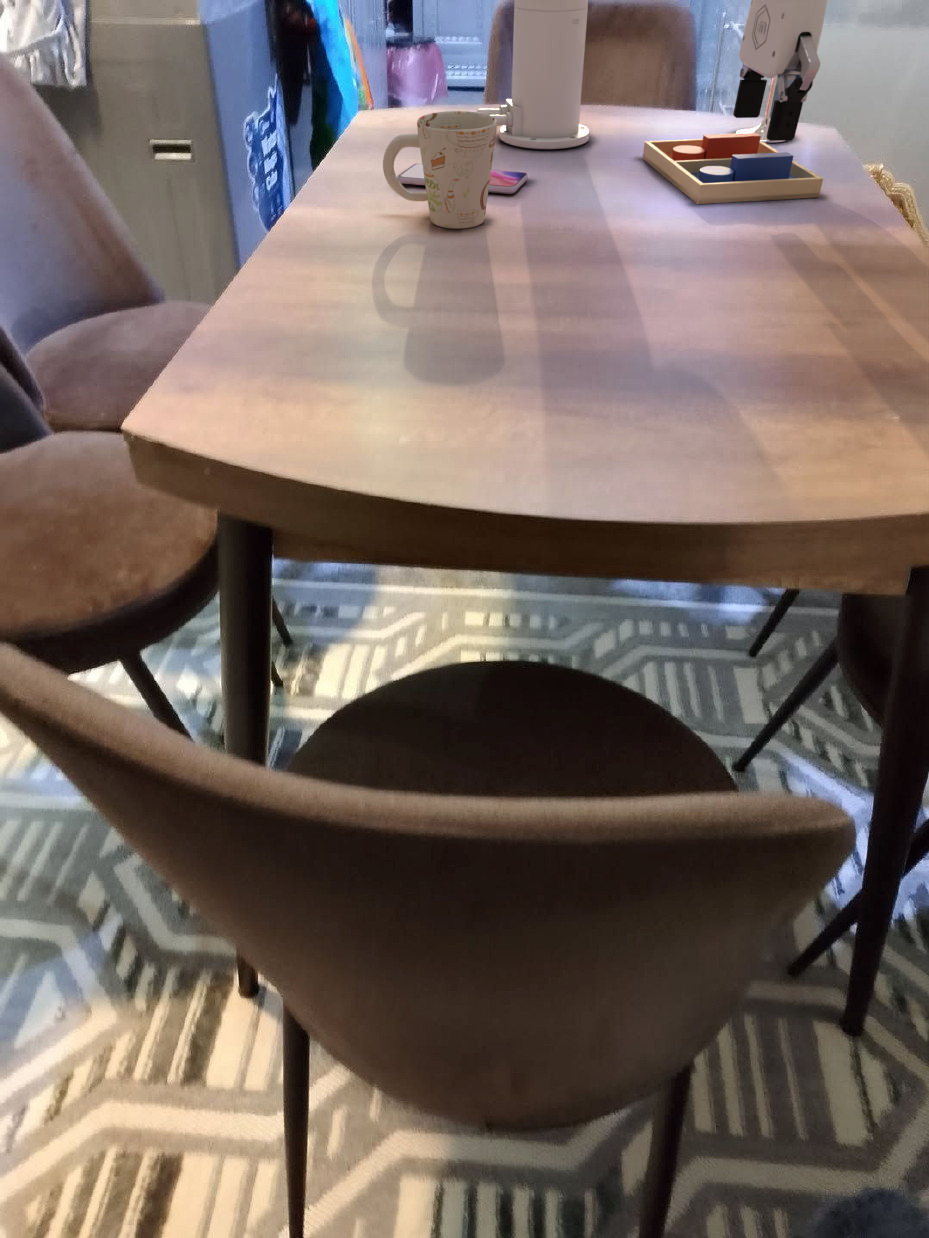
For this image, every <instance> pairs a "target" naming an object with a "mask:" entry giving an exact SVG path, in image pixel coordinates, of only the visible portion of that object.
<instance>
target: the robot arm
mask: <svg viewBox="0 0 929 1238" xmlns="http://www.w3.org/2000/svg"><path fill="white" fill-rule="evenodd" d="M827 6H828V0H751V1H750V7H749V8H748V9H749V10H748V13H747V16H746V21H745V25H744V30H743V35H742V39H741V44H740V47H739V53H738V56H739V60H740V62H741V63H742V67H741V68H740V70H739V79H740V80H739V84H738V89H737V93H736V99H735V104H734V109H733V113H732V114H733V117H734V118H736V119H755V118H758V117H759V116H760V114H761V109H762V106H763V102H764V96H765V92H766V87H767V83H768V80H767V79H771V78H773V77H775V76H776V75H777V78H778V79H777V91H778V99H774V100H773V101H774V102H773V106H772V109H771V110H772V111H771V113H770V123H769V128H768V132H767V139H768V140H770V141H784V142H786V141H787V142H788V141H793V140H794V139H795V138H796V132H797V130H798V125H799V121H800V116H801V113H802V108H803V105H804V103H805V102H806V100H807V98H808V94H809V92H810V91H811V89H812V87H813V83H814V80H815V78H816V76H817V74H818V72H819V70H820V67H821V60H820V58H819V55H818V48H819V44H820V41H821V36H822V30H823V28H824V27H823V26H824V22H825V17H826V16H825V15H826V13H827V12H826V11H827ZM513 8H514V9H513V34H512V35H513V41H512V72H511V73H512V74H511V98H506V99H505V105H504V104H503V105H499V108H490V107H488V108H477V110H476V112H478V113H483V114H487V115H490V116H492V117H494V118H495V119H496V121H497V127H500V128H499V139H500V141H502V142H503V143H505V144H508V145H511V146H514V147H519V148H524V149H532V150H533V149H534V150H561V149H570V148H574V147H579V146H582V145H584V144H586V143H587V142H589V140H590V132H591V131H590V129H589V128H588V126H586V125H583V124H581V123H580V117H581V103H582V91H583V90H582V89H583V78H584V77H583V76H584V63H585V50H586V49H585V48H586V37H587V24H588V23H587V22H588V12H589V11H588V9H589V0H513ZM766 78H767V79H766ZM789 81H791V83H790V85H789Z"/></svg>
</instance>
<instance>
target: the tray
mask: <svg viewBox="0 0 929 1238" xmlns="http://www.w3.org/2000/svg"><path fill="white" fill-rule="evenodd" d="M702 141H703V138H689V139H666V140H646V141H645V140H644V144H643V153H642V160H643V161H645V163H647V164H648V165H650V167H652V168H653V169H654V170H656V171H657V172H658V173H659V174H660V175H662V176H663V177H664V178H665V179H666V180H667V181H669V182H670V183H671V184H672V185H674V186H675V187H676V188H677V189H678V190H679V191H681V192H682V193H683V194H684V195H686V196H687V198H689V199H691V200H692V201H693V202H694V203H695V204H696V205H705V204H721V203H722V204H724V203H738V202H739V203H740V202H743V203H744V202H756V201H757V202H758V201H759V202H760V201H775V200H794V199H795V200H796V199H811V198H812V199H813V198H820V196H821V195H820V194H821V190H822V185H823V181H824V178H823V177H822V176H820V175H818V174H817V173H815V172H814V171H812V170H811V169H809V168H807V167H805V166H803V165H802V164H800V163H798V162H797V161H796V160H794V159H793V161H792V165H791V170H790V174H789V179H775V180H757V181H738V182H719V183H702V182H701V181H699V180H698V178H699V172H700V169H701V168H702V167H706V166H722V167H727V168H730V165H731V159H732V158H722V159H702V160H682V161H674V160H672V153H673V148H674V147H677V146H683V145H690V146H697V147H701V148H702ZM780 152H781V151H779V150H778V149H775V148H774V147H772V146H771V145H769V144H768V143H764V142H762V141H761V140H760V143H759V148H758V153H757V154H759V153H780Z"/></svg>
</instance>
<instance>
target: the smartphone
mask: <svg viewBox="0 0 929 1238" xmlns="http://www.w3.org/2000/svg"><path fill="white" fill-rule="evenodd" d="M396 177H397V179H398V180H399V182H400V183H401V184H406V185H416V186H425V179H424V172H423V165H422V163H413V164H412V165H410V167H408V168H406V169H405V170H404V171H402V172H401V173H400V174H398V175H397V176H396ZM528 178H529V176H528V173H527V172H522V171H512V170H511V171H510V170H499V169H498V170H497V169H491V175H490V182H489V190H488V193H495V194H505V195H510V194H511V195H512V194H514V193H516V192H517V191H518V190H519V189H520V187H521V186H523V185H524V183H526V182H527V180H528Z"/></svg>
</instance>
